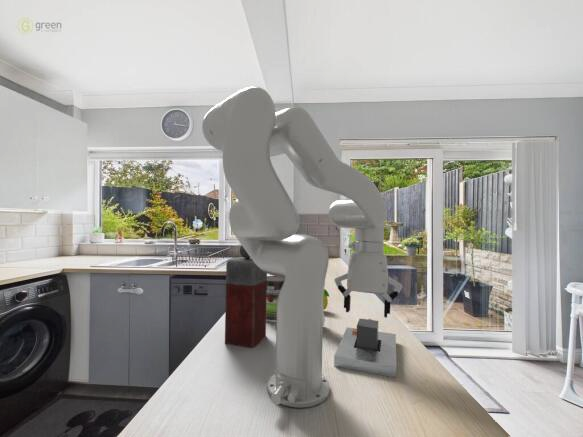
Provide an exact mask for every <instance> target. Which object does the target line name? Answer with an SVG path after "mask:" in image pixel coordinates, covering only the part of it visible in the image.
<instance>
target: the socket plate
mask: <svg viewBox="0 0 583 437" xmlns="http://www.w3.org/2000/svg"><path fill="white" fill-rule="evenodd" d="M396 336H397V334H396V333H390V332H383V331H378V351H372V350H365V349H359V348H356V344H357V327H356V328H355V327H346V328H345V330H344V333H343V335H342V337H341V340H340V342H339V344H338V346H337V349H336V351H335V353H334V355H333V366H334V367H335V368H336V367H337V368H341V369H348V370H351V371H358V372H363V373H369V374H375V375H379V376H385V377H390V378H397V337H396ZM379 350H380V351H379Z"/></svg>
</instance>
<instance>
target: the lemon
mask: <svg viewBox="0 0 583 437" xmlns="http://www.w3.org/2000/svg"><path fill="white" fill-rule="evenodd" d="M328 297H329V298H330V294H329V292H328V291H327V290H326V289H325V288H324V294H323V310H326V308H328V305H329V304H328Z"/></svg>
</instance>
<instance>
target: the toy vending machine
mask: <svg viewBox="0 0 583 437" xmlns="http://www.w3.org/2000/svg"><path fill="white" fill-rule="evenodd" d="M239 254H240V256H241V257H235V258H231V259H229V260H227V261H226V267H225V271H226V273H225V311H224V313H225V314H224V315H225V317H224V318H225V319H224V322H225V323H224V344H225V345H231V346H236V347H242V348H249V349H254V348H255V347H257V346H258V345H259V344H260V343H261V342H262V341H263V340H264V339H265V338H266V336H267V335H266V334H267V321H266V296H267V276H268V274H267V273H265V272H263V271H262V270H261V269H260V268H259V267H258V266H257V265H256V264H255V263H254V261H253V260H252V259H251V257H250V256H249V255H248V253H247V252H246V250H245V249H244V248H243V246H242V245H241V246H240V247H239Z"/></svg>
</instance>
